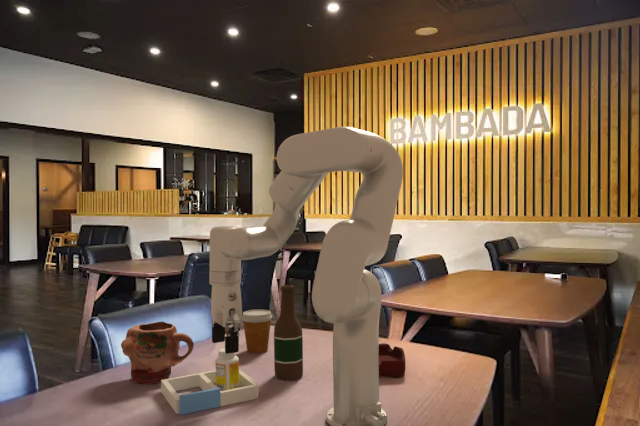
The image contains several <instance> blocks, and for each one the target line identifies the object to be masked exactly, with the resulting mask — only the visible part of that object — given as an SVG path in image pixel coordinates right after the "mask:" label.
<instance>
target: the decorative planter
mask: <svg viewBox="0 0 640 426" xmlns="http://www.w3.org/2000/svg"><path fill="white" fill-rule="evenodd" d="M177 330H178V329H177V327H176V326H175V325H174V324H173V323H169V322H165V321H156V322H155V321H154V322H149V323H144V324H137V325H134V326H132V327H129V329H127V332H126V333H125V334H126V335H125V338H124V339H123V340H122V341H121V343H120V347H121V349H122V353H123V355H124V356H126V357H128V359H129V361H130V363H131V364H130V377H131V380H132V381H134V383H138V384H144V385H145V384H147V385H148V384H151V385H152V384H159V383H161V380H164V379H169V378H170V376H171V374H172V367H173V368H174V367H176V366H177V365H178V364H180V363H182V362H183V361H184V360H185V359H187V357H189V356H190V355H191V354H192V352H193V350H194V347H195V345H194V341H193V339H192V338H191V336H190V335H188V334H186V333H182V332H178V333H177ZM181 342H184V343H186V345H187V348H188V350H187V352H186V353H185V354H184V355H179V351H180V345H181Z"/></svg>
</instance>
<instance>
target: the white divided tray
mask: <svg viewBox="0 0 640 426" xmlns="http://www.w3.org/2000/svg"><path fill="white" fill-rule="evenodd" d="M194 388H199V389H201V390H198V391H195V392H189V393H185V394H178V392H179V391H184V390H188V389H194ZM177 391H178V392H177ZM160 392H161V394H162V396H163V397H164V398H165V400H166V401H167V403H168V404H169V405H170V407H171V408H172V410H173V411H174V412H175V414H176V415H179V416H182V415H186V414H192V413H196V412H201V411H202V412H203V411H206V410H210V409H215V408H220V407H224V406H225V407H226V406H229V405H233V404H238V403H243V402H247V401H252V400H257V399H258V397H259V383H258V382H257V381H255V380H254V379H253V378H252V377H250V376H249V375H248V374H247V373H245V372H243V370H241V369H240V368H239V388H235V389H230V390H225V391H221V390H220V388H219V387H217V386H216V369H215V370H210V371H204V372H199V373H193V374H187V375H182V376H176V377H171V378H170V377H169V378H167V379H164V380H161V382H160Z"/></svg>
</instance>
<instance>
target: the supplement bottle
mask: <svg viewBox="0 0 640 426" xmlns="http://www.w3.org/2000/svg"><path fill="white" fill-rule="evenodd" d="M236 353H237V352H236ZM236 353H229V354H226V353H225V347H223V348H220V349H219V350H218V357H217V358H215V370H216V383H215V385H216V386H217V387H219V388H220V390H221V391H225V390H230V389H235V388H240V385H239V369H240V361H239V360H240V359H239V357H238V356H237V355H236Z"/></svg>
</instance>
